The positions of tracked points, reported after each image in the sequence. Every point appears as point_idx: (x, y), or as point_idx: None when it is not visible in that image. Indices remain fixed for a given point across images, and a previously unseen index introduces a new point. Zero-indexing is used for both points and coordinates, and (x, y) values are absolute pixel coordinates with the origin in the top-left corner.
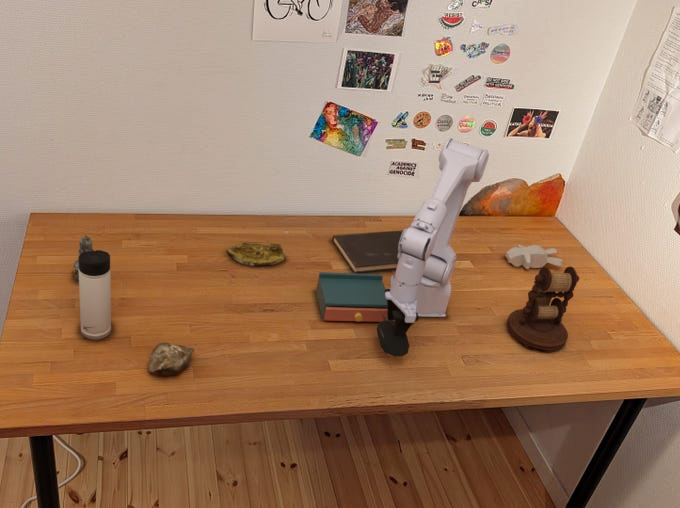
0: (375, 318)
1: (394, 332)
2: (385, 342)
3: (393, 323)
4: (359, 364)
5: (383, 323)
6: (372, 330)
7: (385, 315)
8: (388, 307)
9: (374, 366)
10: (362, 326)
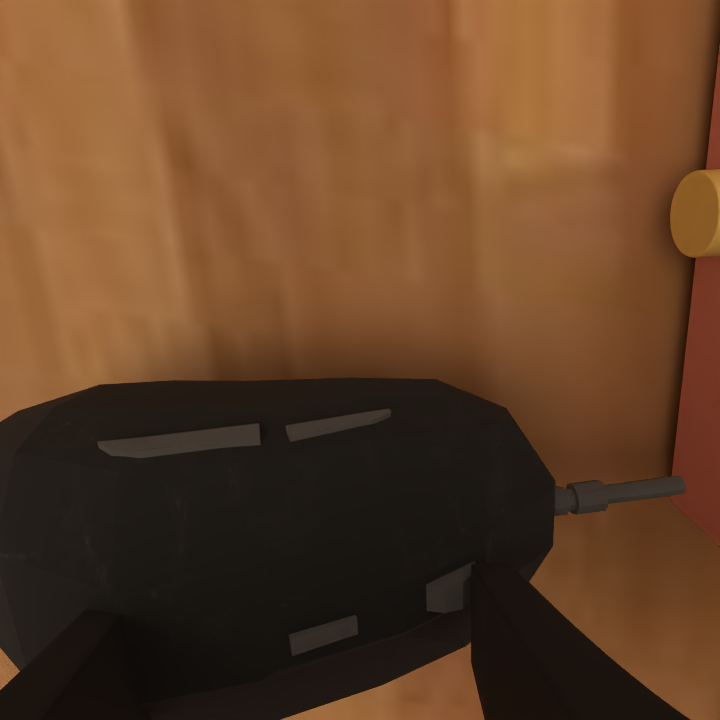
0: (703, 395)
1: (46, 649)
2: (17, 461)
3: (353, 634)
4: (80, 151)
5: (439, 486)
6: (580, 346)
7: (716, 497)
8: (564, 710)
9: (81, 295)
10: (639, 262)
